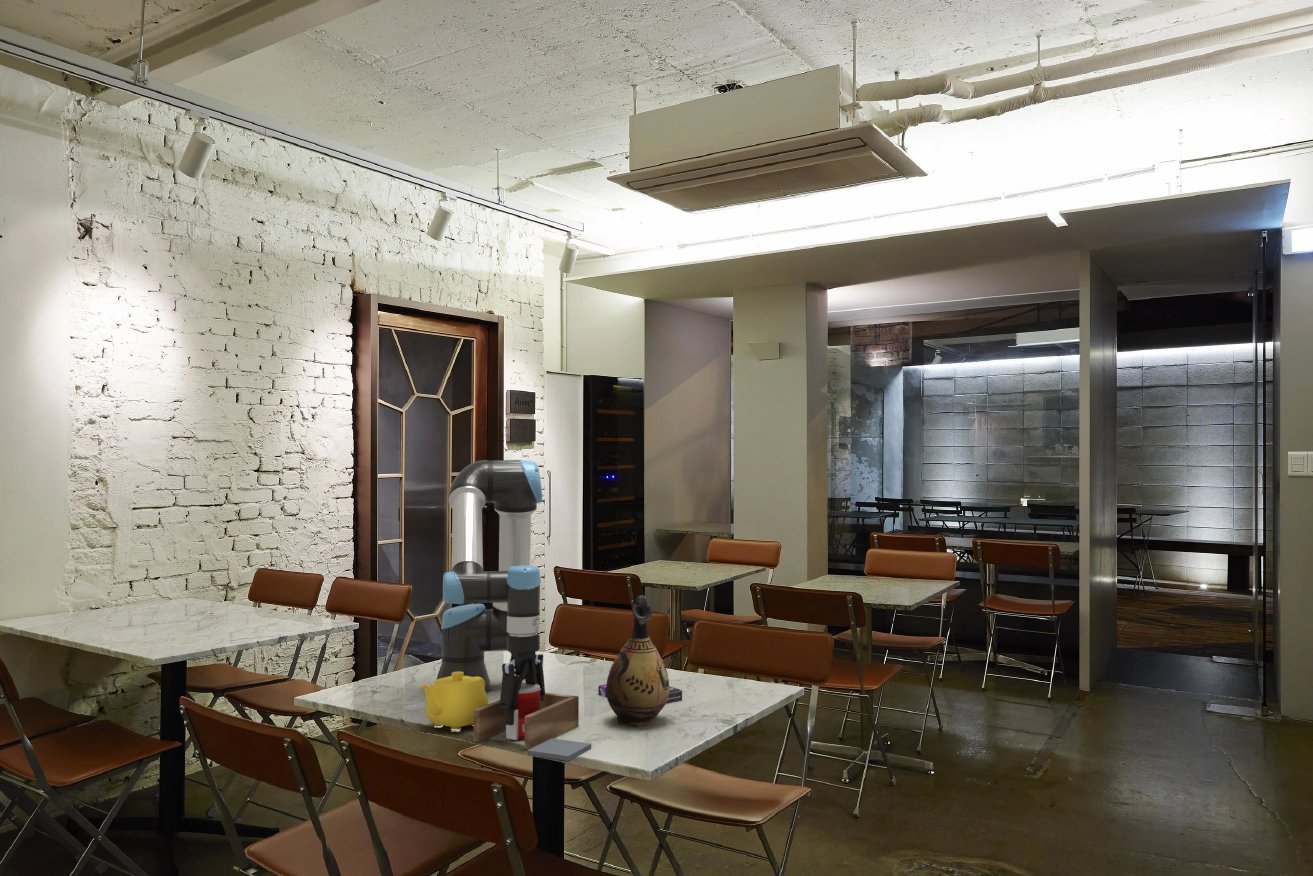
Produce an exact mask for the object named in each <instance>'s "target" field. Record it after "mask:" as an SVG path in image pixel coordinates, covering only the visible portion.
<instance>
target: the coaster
mask: <svg viewBox="0 0 1313 876" xmlns="http://www.w3.org/2000/svg"><path fill="white" fill-rule="evenodd" d="M591 749H592V743H591V742H590V743H589V742H581V741H575V740H574V741H573V740H567V739H561V738H560V739H559V738H552V739H549V740H547V741H545V742H543V743H541V744H539V745H537V746H535V747H533V748H531V749H526V751H527V753H526V754H527V755H526V756H530V757H531V756H532V757H537V758H545V759H552V760H558V761H564V762H569V761H571V760H573V759H574V758H577V757H578V756H580V755H582V754H584V753H585V752H587V751H589V750H591Z"/></svg>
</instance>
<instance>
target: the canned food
mask: <svg viewBox="0 0 1313 876" xmlns="http://www.w3.org/2000/svg"><path fill="white" fill-rule="evenodd" d="M516 710H518V739H517V740H525V716H527V715H529V714H531V713H534V712H536V711H538V710H540V686H539V685H538V684H535V685H529V684H526V682H522V684H521V688H520V690H519V693H518V701H517V706H516ZM517 740H516V741H517Z"/></svg>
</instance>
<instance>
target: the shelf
mask: <svg viewBox="0 0 1313 876" xmlns="http://www.w3.org/2000/svg"><path fill="white" fill-rule="evenodd" d="M579 698H580V697H579V695H571V694H570V695H569V694H560V693H554V692H553V693H552V692H545V695H544V699H543V701H541V700H540V710H538V711H536V712H534V713H531V714H529V715H527V716H525V739H524V750H529V749H531V748H533V747H535V746H537V745H539V744H541V743H543V742H545V741H547V740H549V739H552V738H554V739H556V738H557V737H559V736H562V735H563V734H565V733H568V732H569V731H572V730H574V729H575V728H576V729H577V728H578V727H579V723H580V722H579V720H580V719H579V715H580V714H579V708H580V707H579V706H580V703H579V700H580V699H579ZM499 705H500V699H498V700H496V701H493V702H491V703H488V705H485V706H483V707H480V708H477V709H475V710H474V727H473V740H472V741H473V742H476V743H480V742H483V741H485V740H487V739H490V738H492V737H495V736H497V735H499V734H501V733H504V732H506V710H504V709H500V707H499ZM494 735H495V736H494Z"/></svg>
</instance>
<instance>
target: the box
mask: <svg viewBox="0 0 1313 876" xmlns="http://www.w3.org/2000/svg"><path fill="white" fill-rule="evenodd" d="M606 684H607V683H605V684H600V685H598V687H597V689H598V691H597V692H598V696H601V697H605V698H607V696H606ZM669 687H670V688H669V690H670V691H669V695H668V699H667V703H666V704H665V705H667V704H671V703H676V702H681V701H683V689H680V688H676V687H673V686H671V685H669Z"/></svg>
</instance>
